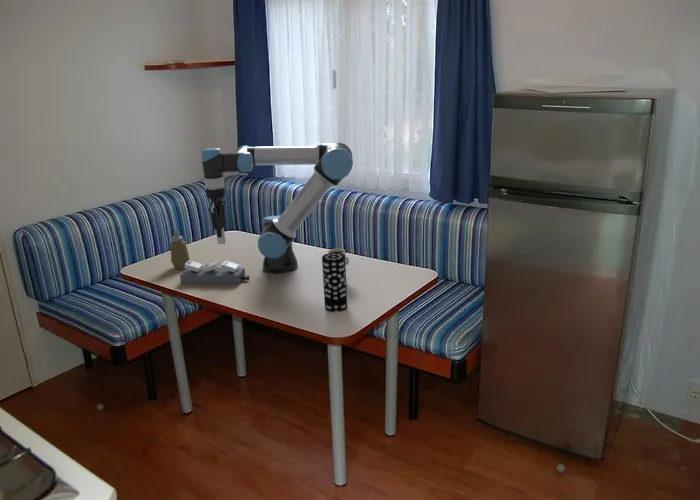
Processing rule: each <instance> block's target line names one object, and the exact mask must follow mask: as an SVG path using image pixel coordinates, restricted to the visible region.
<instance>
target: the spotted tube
mask: <svg viewBox="0 0 700 500" xmlns="http://www.w3.org/2000/svg"><path fill="white" fill-rule="evenodd" d="M345 255H346V254H345ZM345 255H344V254H341V253H328V252H327V253H325V254H323V255H322V257H321V264H322V281H323V295H324V297H323V298H324V309H325V310H326V311H327V312H330V313H340V312H343V311H345V310H347V308H348V294H347V293H348V291H347V269H346V265H345Z"/></svg>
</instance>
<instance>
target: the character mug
mask: <svg viewBox="0 0 700 500" xmlns="http://www.w3.org/2000/svg"><path fill="white" fill-rule="evenodd" d="M328 253H341V254H344V255H345V265H347V266H348V265H350V258H349V257H348V256H346V250H345V249H344V248H332V249H329V250H328V251H327V254H328Z"/></svg>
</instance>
